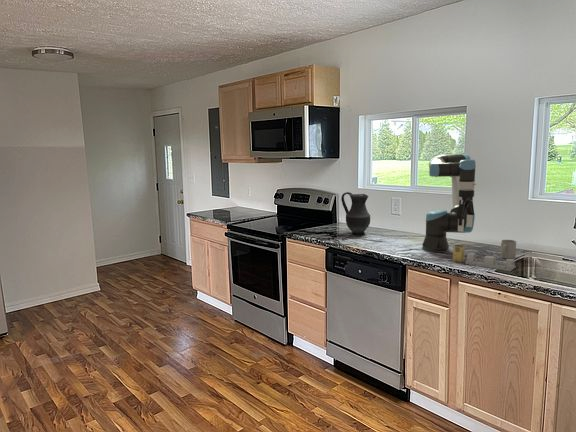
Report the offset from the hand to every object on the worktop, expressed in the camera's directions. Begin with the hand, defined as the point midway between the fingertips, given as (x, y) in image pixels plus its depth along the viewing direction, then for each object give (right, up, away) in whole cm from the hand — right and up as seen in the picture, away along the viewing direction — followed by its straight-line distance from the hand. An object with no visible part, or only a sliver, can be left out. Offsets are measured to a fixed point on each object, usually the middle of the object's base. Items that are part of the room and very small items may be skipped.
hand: (465, 229), depth 224 cm
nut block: (-2, -17, +3) cm, 17 cm away
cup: (+25, -16, +5) cm, 30 cm away
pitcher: (-46, -6, +75) cm, 88 cm away
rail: (+9, -18, -8) cm, 22 cm away
